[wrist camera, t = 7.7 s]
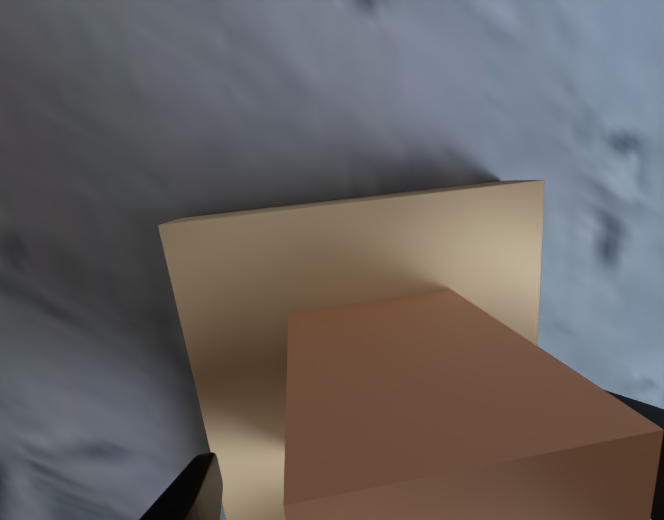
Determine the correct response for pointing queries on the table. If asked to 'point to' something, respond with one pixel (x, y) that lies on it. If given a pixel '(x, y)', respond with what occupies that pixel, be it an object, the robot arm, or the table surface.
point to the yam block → (451, 421)
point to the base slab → (330, 297)
